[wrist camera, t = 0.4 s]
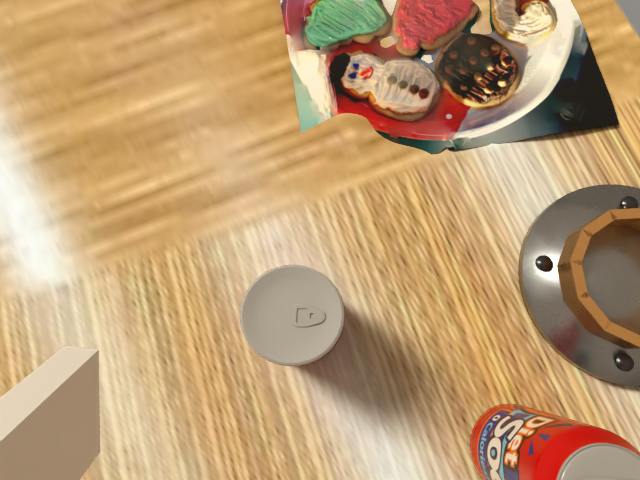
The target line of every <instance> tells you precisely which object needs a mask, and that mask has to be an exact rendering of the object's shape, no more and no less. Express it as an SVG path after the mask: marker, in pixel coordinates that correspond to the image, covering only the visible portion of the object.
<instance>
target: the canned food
mask: <svg viewBox="0 0 640 480" xmlns="http://www.w3.org/2000/svg"><path fill="white" fill-rule="evenodd" d="M344 320H345V311H344V304H343V301H342V297H341V295H340V293H339V291H338V289H337V288H336V287H335V285H334V284H333V283H332V282H331V281H330V280H329V279H328V278H327V277H326V276H325V275H323V274H322V273H320V272H318V271H316V270H315V269H312V268H309V267H306V266H300V265H285V266H281V267H276V268H274V269H271V270H269V271H267V272H265V273H264V274H262V275H261V276H260V277H258V278H257V279H256V280H255V281H254V282H253V283H252V284H251V286H250V287H249V289H248V290H247V292H246V294H245V296H244V299H243V301H242V305H241V310H240V322H241V326H242V331H243V333H244V335H245V338H246V340H247V341H248V343H249V344H250V346H251V347H252V348H253V349H254V350H255V351H256V352H257V353H258V354H259V355H260V356H262V357H263V358H265V359H267V360H268V361H270V362H273V363H276V364H279V365H285V366H301V365H305V364H309V363H312V362H314V361H316V360H318V359H320V358H322V357H323V356H325V355H326V354H327V353H329V351H330V350H331V349H332V348H333V347H334V346H335V345H336V343H337V341H338V340H339V338H340V336H341V333H342V330H343V327H344Z"/></svg>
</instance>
